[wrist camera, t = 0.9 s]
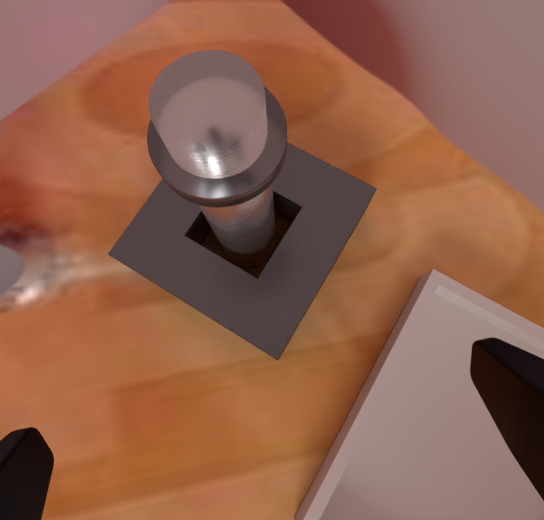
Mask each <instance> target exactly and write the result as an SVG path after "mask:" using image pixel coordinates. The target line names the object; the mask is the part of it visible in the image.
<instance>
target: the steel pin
mask: <svg viewBox="0 0 544 520" xmlns="http://www.w3.org/2000/svg"><path fill="white" fill-rule="evenodd" d="M149 113H150V117H151V120H150V123H149V128H148V134H147V143H148V150H149V154H150V157H151V160H152V162H153V164H154V166H155V167H156V169H157V171H158V172H159V174H160V175H161V177H162V178H163V180H164V181H165V183H166V184H167V185H168V186H169V187H170V189H172V190H173V191H174V192H175V193H176V194H177V195H179V196H180V197H182V198H183V199H185V200H187V201H189V202H191V203H194V204H197V205H199V206H200V208H201V210H202V212H203V214H204V215H205V217H206V219H207V221H208V223H209V224H210V226H211V228H212V230H213V232H214V233H215V235H216V237H217V239H218V240H219V242H220V244H221V246H222V248H223V249H224V251H225V253H226V254H227V256H228V257H229V258H230V259H231V260H232V261H234V262H236V263H238V264H241V265H246V266H252V265H257V264H259V263H262V262H263V261H265V260H266V259H267V258H269V256H270V255H271V254H272V253H273V251H274V249H275V246H276V227H275V214H274V202H273V189H272V183H273V182H274V180H275V179H276V178H277V176H278V174H279V173H280V171H281V169H282V167H283V164H284V161H285V157H286V151H287V124H286V119H285V115H284V113H283V110H282V108H281V106H280V104H279V102H278V101H277V100H276V98H275V97H274V96H273V95H272V94H271V93H270V92H269V91H268V90H267V89H266V88H265V87H264V86H263V83H262V80H261V78H260V76H259V74H258V73H257V71H256V70H255V69H254V68H253V67H252V66H251V65H250V64H249V63H248V62H247V61H245V60H244V59H242V58H240V57H239V56H236V55H234V54H232V53H228V52H224V51H218V50H204V51H198V52H193V53H190V54H187V55H185V56H182V57H180V58H178V59H176V60H175V61H173V62H172V63H170V64H169V65H168V66H167V67H166V68H165V69H164V70H163V71H162V72H161V73H160V74H159V75H158V77H157V78H156V80H155V82H154V84H153V86H152V88H151V91H150V95H149Z"/></svg>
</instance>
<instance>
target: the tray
mask: <svg viewBox="0 0 544 520" xmlns="http://www.w3.org/2000/svg"><path fill="white" fill-rule="evenodd" d="M491 337H494V338H498V339H500V340H503V341H505V342H507V343H509V344H512V345H514V346H516V347H518V348H520V349H523V350H525V351H527V352H529V353H532V354H534V355H536V356H538V357H541V358H543V359H544V328H542V327H540V326H538V325H537V324H535V323H533V322H531V321H529V320H527V319H525V318H524V317H522V316H520V315H518V314H516V313H514V312H512V311H511V310H509V309H507V308H505V307H503V306H501V305H499V304H498V303H496V302H494V301H492V300H490V299H488V298H486V297H485V296H483V295H481V294H479V293H477V292H475V291H473V290H472V289H470V288H468V287H466V286H464V285H462V284H460V283H459V282H457V281H455V280H453V279H451V278H449V277H447V276H446V275H444V274H442V273H440V272H438V271H436V270H434V269H432V270H431V271H429V272H428V273H426V274H424V275H423V276H421V277H420V279H419V280H418V282H417V284H416V286H415V288H414V290H413V292H412V294H411V296H410V298H409V300H408V301H407V303H406V305H405V307H404V309H403V311H402V313H401V315H400V317H399V319H398V320H397V322H396V324H395V326H394V328H393V330H392V332H391V334H390V336H389V338H388V340H387V341H386V343H385V345H384V347H383V349H382V351H381V353H380V355H379V357H378V359H377V361H376V362H375V364H374V366H373V368H372V370H371V372H370V374H369V376H368V378H367V380H366V382H365V383H364V385H363V387H362V389H361V391H360V393H359V395H358V397H357V399H356V401H355V403H354V404H353V406H352V408H351V410H350V412H349V414H348V416H347V418H346V420H345V422H344V424H343V425H342V427H341V429H340V431H339V433H338V435H337V437H336V439H335V441H334V443H333V445H332V446H331V448H330V450H329V452H328V454H327V456H326V458H325V460H324V462H323V464H322V466H321V467H320V469H319V471H318V473H317V475H316V477H315V479H314V481H313V483H312V485H311V487H310V488H309V490H308V492H307V494H306V496H305V498H304V500H303V502H302V504H301V506H300V507H299V509H298V511H297V513H296V515H295V517H294V520H544V501H543V499H542V498H541V496H540V495H539V493H538V492H537V490H536V489H535V488H534V486H533V485H532V483H531V482H530V480H529V479H528V477H527V476H526V474H525V473H524V471H523V470H522V468H521V467H520V465H519V464H518V462H517V461H516V459H515V458H514V456H513V455H512V453H511V451H510V450H509V448H508V446H507V444H506V443H505V441H504V439H503V437H502V435H501V433H500V432H499V430H498V428H497V426H496V424H495V422H494V421H493V419H492V417H491V415H490V413H489V411H488V410H487V408H486V406H485V404H484V402H483V400H482V399H481V397H480V395H479V393H478V391H477V389H476V387H475V386H474V384H473V382H472V379H471V376H470V363H471V351H472V344H473V343H474V341H476V340H480V339H485V338H491Z"/></svg>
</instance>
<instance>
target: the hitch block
mask: <svg viewBox="0 0 544 520" xmlns="http://www.w3.org/2000/svg"><path fill="white" fill-rule="evenodd" d="M272 189H273V202H274V212H275V213H277V214H279V215H280V216H282V217H284V218H286V219H288V220H289V221H291V222H293V223H292V225H291V226H290V228H289V229H288V231H287V233H286V234H285V236H284V237H283V239H282V241H281V242H280V244H279V245H278V247H277V249H276V250H275V252H274V253H273V255H272V257H271V258H270V260H269V261H268V263H267V265H266V266H265V268H264V269H263V271H262V273H261V274H260V276H259V277H258V279H257V278H255V277H254V276H252V275H250V274H249V273H247V272H245V271H243V270H242V269H240V268H238V267H237V266H235V265H233V264H232V263H230V262H228V261H227V260H225V259H223V258H221V257H220V256H218V255H216V254H215V253H213V252H211V251H210V250H208V249H206V248H204V247H203V246H202V244H203V243H204V241H205V240H206V238H207V237H208V235H209V234H210V232H211V231H212V228H211V226H210V224H209V223H208V221H207V219H206V217H205V215H204V214H203V212H202V210H201V208H200V206H199V205H197V204H194V203H191V202H189V201H187V200H185V199H183V198H182V197H180V196H179V195H177V194H176V193H175V192H174V191H173V190H172V189H170V187H169V186H168V185H167V184H166V183H165V181H164V180H163V179H162V181H161V182H160V183H159V185H158V186H157V187H156V189H155V190H154V192H153V193H152V194H151V196H150V197H149V198H148V200H147V201H146V203H145V204H144V205H143V207H142V208H141V209H140V211H139V212H138V213H137V215H136V216H135V218H134V219H133V220H132V222H131V223H130V224H129V226H128V227H127V229H126V230H125V231H124V233H123V234H122V235H121V237H120V238H119V240H118V241H117V242H116V244H115V245H114V246H113V248H112V249H111V251H110V252H109V253H108V255H110V256H112V257H113V258H115V259H116V260H118V261H120V262H121V263H123V264H124V265H126V266H128V267H129V268H131V269H132V270H134V271H136V272H137V273H139V274H140V275H142V276H144V277H145V278H147V279H148V280H150V281H152V282H153V283H155V284H157V285H158V286H160V287H161V288H163V289H165V290H166V291H168V292H169V293H171V294H173V295H174V296H176V297H177V298H179V299H181V300H182V301H184V302H185V303H187V304H189V305H190V306H192V307H193V308H195V309H197V310H198V311H200V312H201V313H203V314H205V315H206V316H208V317H209V318H211V319H213V320H214V321H216V322H217V323H219V324H221V325H222V326H224V327H225V328H227V329H229V330H230V331H232V332H233V333H235V334H237V335H238V336H240V337H241V338H243V339H245V340H246V341H248V342H249V343H251V344H253V345H254V346H256V347H257V348H259V349H261V350H262V351H264V352H265V353H267V354H269V355H270V356H272V357H273V358H275V359H277V360H279V358H280V356H281V355H282V353H283V351H284V350H285V348H286V346H287V344H288V343H289V341H290V339H291V338H292V336H293V334H294V332H295V331H296V329H297V327H298V326H299V324H300V322H301V320H302V319H303V317H304V315H305V314H306V312H307V310H308V308H309V307H310V305H311V303H312V301H313V300H314V298H315V296H316V295H317V293H318V291H319V289H320V288H321V286H322V284H323V283H324V281H325V279H326V277H327V276H328V274H329V272H330V271H331V269H332V267H333V265H334V264H335V262H336V260H337V259H338V257H339V255H340V253H341V252H342V250H343V248H344V247H345V245H346V243H347V241H348V240H349V238H350V236H351V235H352V233H353V231H354V229H355V228H356V226H357V224H358V222H359V221H360V219H361V217H362V216H363V214H364V212H365V210H366V209H367V207H368V205H369V203H370V201H371V199H372V197H373V195H374V193H375V191H376V188H374V187H373V186H371V185H369V184H367V183H365V182H363V181H361V180H359V179H357V178H355V177H353V176H351V175H349V174H347V173H345V172H343V171H341V170H340V169H338V168H336V167H334V166H332V165H330V164H328V163H326V162H324V161H322V160H320V159H318V158H316V157H314V156H312V155H310V154H308V153H307V152H305V151H303V150H301V149H299V148H297V147H295V146H293V145H291V144H289V143H287V151H286V157H285V161H284V164H283V167H282V169H281V171H280V173H279V174H278V176H277V178H276V179H275V180H274V182H273V183H272Z"/></svg>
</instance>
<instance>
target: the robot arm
mask: <svg viewBox="0 0 544 520" xmlns="http://www.w3.org/2000/svg"><path fill="white" fill-rule="evenodd" d="M470 376H471V379H472V382H473V384H474V386H475V387H476V389H477V391H478V393H479V395H480V397H481V399H482V400H483V402H484V404H485V406H486V408H487V410H488V411H489V413H490V415H491V417H492V419H493V421H494V422H495V424H496V426H497V428H498V430H499V432H500V433H501V435H502V437H503V439H504V441H505V443H506V444H507V446H508V448H509V450H510V451H511V453H512V455H513V456H514V458H515V459H516V461H517V462H518V464H519V465H520V467H521V468H522V470H523V471H524V473H525V474H526V476H527V477H528V479H529V480H530V482H531V483H532V485H533V486H534V488H535V489H536V490H537V492H538V493H539V495H540V496H541V498H542V499H543V501H544V359H543V358H541V357H538V356H536V355H534V354H532V353H529V352H527V351H525V350H523V349H520V348H518V347H516V346H514V345H512V344H509V343H507V342H505V341H503V340H500V339H498V338H494V337H491V338H485V339H480V340H476V341H474V343H473V344H472V351H471V363H470ZM53 465H54V457H53V453H52V451H51V449H50V448H49V446H48V445H47V443H46V442H45V440H44V438H43V437H42V435H41V434H40V432H39V431H38V430H37V429H36V428H32V427H30V428H25V429H20V430H15V431H12V432H11V433H9V434H8V435H7V436H6V437H4V438H3V439H2V440H1V441H0V520H41V518H42V514H43V509H44V505H45V501H46V496H47V492H48V487H49V483H50V479H51V474H52V470H53Z"/></svg>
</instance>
